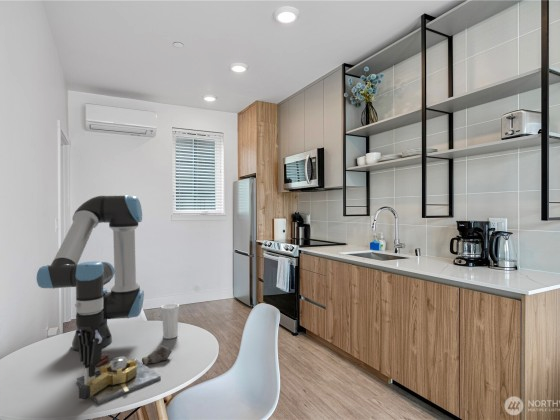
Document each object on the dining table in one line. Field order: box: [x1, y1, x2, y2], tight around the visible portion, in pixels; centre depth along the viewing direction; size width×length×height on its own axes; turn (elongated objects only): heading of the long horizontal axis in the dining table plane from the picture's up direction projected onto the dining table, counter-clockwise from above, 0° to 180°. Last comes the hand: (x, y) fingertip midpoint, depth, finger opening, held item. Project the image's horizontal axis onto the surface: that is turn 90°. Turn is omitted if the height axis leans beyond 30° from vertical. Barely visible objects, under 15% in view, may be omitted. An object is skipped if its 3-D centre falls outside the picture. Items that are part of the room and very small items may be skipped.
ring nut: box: [78, 358, 137, 401], centre depth 111 cm, size 20×11×4 cm, turn 163°
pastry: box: [95, 352, 110, 368], centre depth 129 cm, size 8×8×5 cm
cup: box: [160, 302, 180, 340], centre depth 154 cm, size 8×8×14 cm
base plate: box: [76, 355, 162, 405], centre depth 115 cm, size 21×20×7 cm
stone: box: [141, 345, 172, 366], centre depth 129 cm, size 10×5×8 cm
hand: (89, 385), depth 106 cm, fingers closed
